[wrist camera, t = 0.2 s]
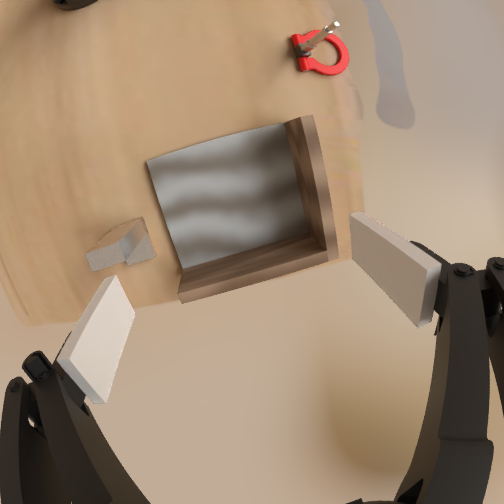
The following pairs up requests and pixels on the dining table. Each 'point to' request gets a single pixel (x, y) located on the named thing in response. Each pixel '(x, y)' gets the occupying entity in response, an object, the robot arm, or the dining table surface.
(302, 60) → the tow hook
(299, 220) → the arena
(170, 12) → the dining table surface
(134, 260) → the bracket
